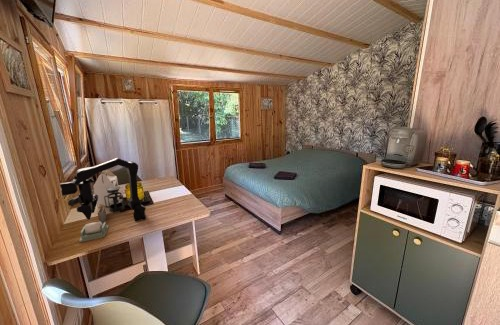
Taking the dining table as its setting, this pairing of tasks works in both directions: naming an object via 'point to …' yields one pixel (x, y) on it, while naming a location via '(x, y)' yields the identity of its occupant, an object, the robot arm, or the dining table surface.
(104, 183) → the gable box
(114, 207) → the french press
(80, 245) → the dining table surface
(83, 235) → the holder
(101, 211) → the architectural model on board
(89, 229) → the roll
